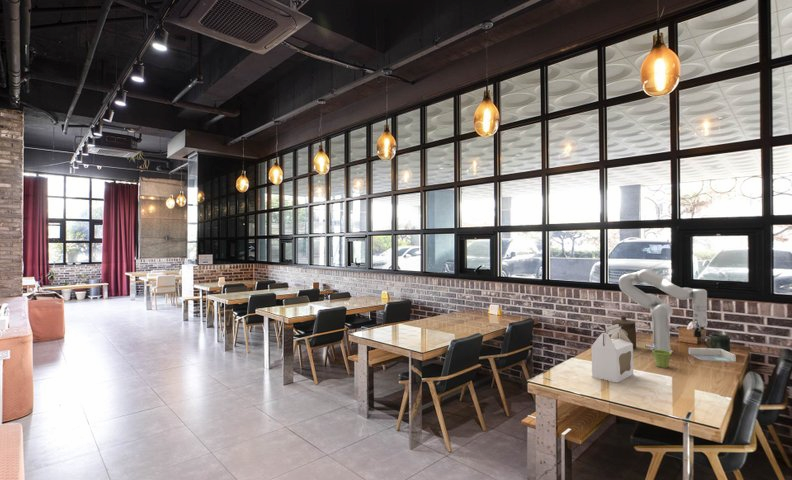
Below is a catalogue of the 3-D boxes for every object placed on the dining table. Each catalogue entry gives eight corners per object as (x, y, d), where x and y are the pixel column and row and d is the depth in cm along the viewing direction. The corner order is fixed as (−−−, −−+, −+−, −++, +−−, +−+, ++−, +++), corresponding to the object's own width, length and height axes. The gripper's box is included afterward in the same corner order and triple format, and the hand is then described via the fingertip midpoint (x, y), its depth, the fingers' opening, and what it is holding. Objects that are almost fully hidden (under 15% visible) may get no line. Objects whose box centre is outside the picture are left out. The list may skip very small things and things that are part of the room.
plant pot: (674, 369, 236) (674, 354, 236) (656, 368, 238) (656, 353, 238) (667, 364, 245) (667, 350, 245) (650, 363, 247) (649, 349, 247)
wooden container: (607, 345, 294) (607, 314, 294) (623, 343, 298) (623, 313, 298) (624, 350, 280) (624, 318, 280) (641, 348, 284) (640, 317, 284)
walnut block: (702, 338, 255) (702, 330, 255) (693, 336, 260) (693, 328, 260) (705, 337, 258) (705, 329, 258) (696, 335, 262) (696, 327, 262)
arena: (700, 361, 251) (700, 353, 251) (688, 355, 266) (688, 347, 266) (735, 362, 247) (735, 355, 247) (721, 356, 262) (721, 348, 262)
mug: (731, 356, 261) (730, 338, 261) (702, 353, 270) (702, 335, 270) (731, 353, 269) (730, 335, 269) (703, 349, 278) (703, 332, 279)
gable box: (616, 383, 213) (615, 330, 214) (591, 377, 223) (590, 326, 224) (633, 374, 227) (632, 324, 228) (609, 369, 237) (608, 321, 238)
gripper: (700, 310, 251) (700, 339, 251) (712, 308, 260) (712, 336, 260) (686, 308, 258) (686, 337, 257) (698, 306, 267) (698, 333, 267)
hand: (699, 336), depth 259 cm, fingers closed on walnut block, 5 cm apart
